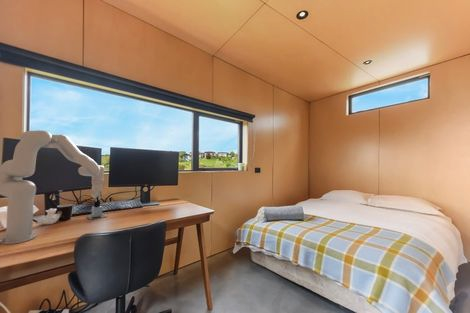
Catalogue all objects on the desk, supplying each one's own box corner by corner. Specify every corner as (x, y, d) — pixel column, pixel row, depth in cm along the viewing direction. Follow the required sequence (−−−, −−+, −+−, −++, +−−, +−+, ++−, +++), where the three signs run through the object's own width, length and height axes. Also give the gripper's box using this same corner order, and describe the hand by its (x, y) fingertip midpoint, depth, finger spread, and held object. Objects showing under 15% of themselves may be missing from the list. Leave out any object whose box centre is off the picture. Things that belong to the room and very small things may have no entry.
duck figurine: (38, 230, 125) (44, 217, 123) (33, 221, 127) (39, 208, 125) (60, 224, 136) (67, 212, 134) (55, 216, 138) (62, 204, 136)
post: (90, 220, 140) (91, 210, 140) (86, 217, 146) (86, 207, 146) (106, 217, 148) (107, 207, 148) (102, 214, 154) (102, 205, 154)
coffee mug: (74, 219, 141) (75, 205, 141) (59, 222, 133) (59, 207, 133) (68, 216, 147) (68, 203, 147) (53, 219, 140) (53, 205, 140)
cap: (93, 217, 143) (94, 208, 143) (91, 215, 147) (91, 206, 147) (102, 215, 147) (102, 206, 147) (99, 214, 151) (99, 205, 151)
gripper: (88, 181, 149) (87, 205, 149) (95, 183, 140) (94, 209, 139) (100, 180, 155) (99, 204, 155) (107, 182, 146) (106, 207, 145)
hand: (97, 206), depth 147 cm, fingers closed
